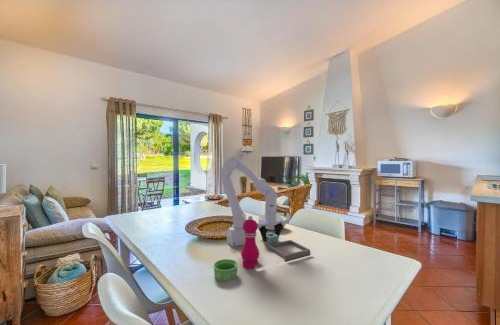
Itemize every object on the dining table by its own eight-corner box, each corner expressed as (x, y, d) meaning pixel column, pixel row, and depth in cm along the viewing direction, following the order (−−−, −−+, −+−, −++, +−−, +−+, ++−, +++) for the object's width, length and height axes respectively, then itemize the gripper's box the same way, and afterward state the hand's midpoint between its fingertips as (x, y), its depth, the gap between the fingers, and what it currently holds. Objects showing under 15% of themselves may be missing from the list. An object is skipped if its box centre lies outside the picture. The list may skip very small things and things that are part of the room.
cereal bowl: (288, 234, 131) (288, 221, 131) (258, 233, 131) (258, 221, 131) (284, 225, 148) (284, 214, 148) (258, 224, 148) (258, 214, 148)
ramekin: (215, 284, 80) (215, 271, 79) (211, 271, 88) (211, 260, 88) (240, 280, 82) (240, 268, 82) (234, 268, 91) (234, 257, 91)
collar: (270, 245, 112) (270, 238, 112) (262, 240, 117) (262, 234, 117) (279, 243, 114) (279, 236, 114) (272, 239, 120) (272, 232, 120)
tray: (285, 262, 96) (285, 255, 96) (267, 250, 108) (267, 244, 108) (310, 255, 103) (310, 249, 103) (290, 245, 115) (290, 239, 115)
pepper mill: (261, 262, 96) (261, 214, 95) (256, 270, 89) (256, 219, 88) (244, 259, 98) (245, 213, 98) (238, 267, 91) (238, 217, 91)
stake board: (268, 248, 111) (268, 237, 111) (259, 242, 118) (259, 232, 118) (281, 244, 115) (281, 235, 115) (272, 239, 122) (272, 230, 122)
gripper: (262, 216, 109) (262, 245, 109) (287, 213, 116) (287, 239, 116) (255, 213, 115) (255, 240, 115) (278, 210, 122) (278, 235, 122)
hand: (270, 239), depth 116 cm, fingers open, 7 cm apart
